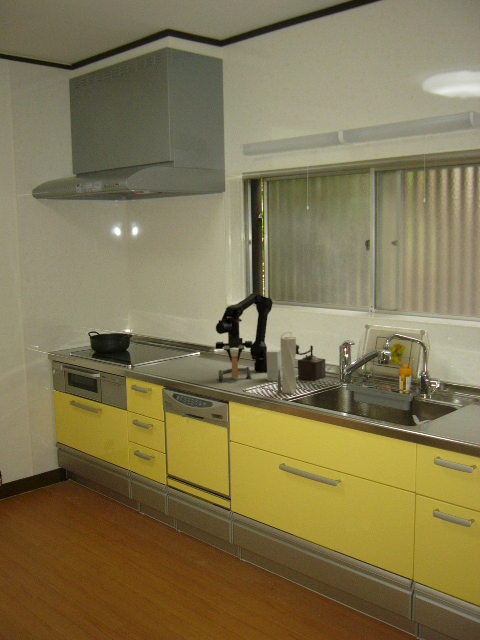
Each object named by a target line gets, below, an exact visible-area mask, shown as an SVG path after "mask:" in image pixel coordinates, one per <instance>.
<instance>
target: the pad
mask: <svg viewBox="0 0 480 640" xmlns="http://www.w3.org/2000/svg"><path fill="white" fill-rule="evenodd" d="M215 380H216V381H218V380H219V378H217V379H215ZM223 380H224V382H225V383H229V384H230V383H236V382H238V381H239V380H237V379H234V378H232V379H231V378H227V377H223Z"/></svg>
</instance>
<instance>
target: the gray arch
mask: <svg viewBox="0 0 480 640" xmlns="http://www.w3.org/2000/svg"><path fill="white" fill-rule="evenodd" d="M244 372H245V373H246V377H245V379H246V380H251V379H252V375H251V374H252V373H251V366H246V367H238V373H244ZM227 374H232V368H228V369H223V370H222V369H219V370H218V379H219V380H217V383H224V382H225V381H224V380H223V378H224V376H223V375H227Z"/></svg>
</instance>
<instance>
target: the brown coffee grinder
mask: <svg viewBox="0 0 480 640" xmlns="http://www.w3.org/2000/svg"><path fill="white" fill-rule="evenodd" d="M309 347H310V349H309V350H307V351H305V352H300V350H299V349H300V345H299V344H297V343H296V355H299V356H303V355H305V357H302V358H301V359H298V360H297V378H298V379H301V380H307V381H313V382H314V381H318V380H321V379H324V378H325V377H326V374H327V373H326V359H325V358H320V357H317V356H315V355H314V353H313V350H314V346H313V345H310V346H309ZM309 353H310V355H307V354H309Z"/></svg>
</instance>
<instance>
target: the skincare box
mask: <svg viewBox="0 0 480 640" xmlns="http://www.w3.org/2000/svg"><path fill="white" fill-rule="evenodd" d="M266 356H267V372H266V373H267V376H266V377H267V381H268V382H269V381H270V382H278V370H280V376H281V379H282V374H283V364H282V359H281V349H270V350H267V352H266Z"/></svg>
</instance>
